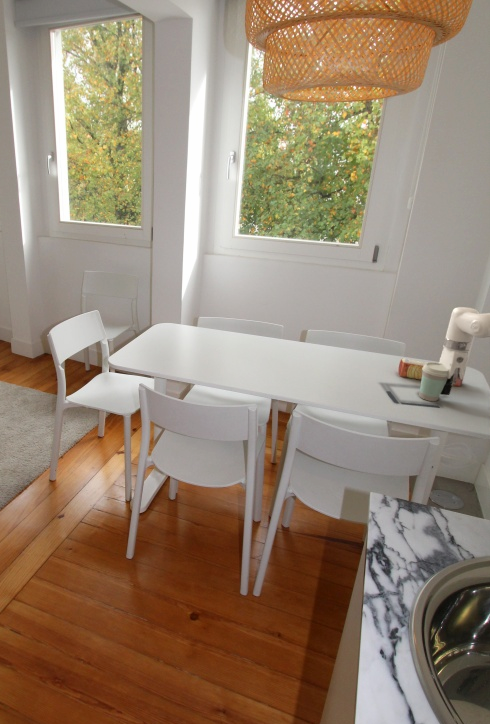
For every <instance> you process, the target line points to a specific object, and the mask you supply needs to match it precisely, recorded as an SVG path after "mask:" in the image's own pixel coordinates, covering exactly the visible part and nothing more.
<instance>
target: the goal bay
mask: <svg viewBox="0 0 490 724" xmlns="http://www.w3.org/2000/svg"><path fill="white" fill-rule="evenodd" d="M386 394H387V395H388V397H389V398H390V399H391V401H392V402H393V403H394V404H401V405H407V406H417V407H427V408H437V409H441V408H440V406H439V405H438V404H437V405H436V404H427V403H425V404H424V403H413V402H400V403H399V401H398V399H396V397H395V396H394V394H393V393H392V391H391V390H390V391H388V390H387V391H386Z"/></svg>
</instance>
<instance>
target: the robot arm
mask: <svg viewBox="0 0 490 724" xmlns="http://www.w3.org/2000/svg"><path fill="white" fill-rule="evenodd" d="M451 311H452V312H451V314H450V319H449V322H448V326H447V329H446V334H445V336H444V337H445V338H444V342H443V345H442V347H443V348H442V351H441V355H440V358H439V361H438V363H441V364H442V366H443V367H444V368H445V369H447V370H448V377H447V378H448V379H447V381H446V383H445V385H444V387H443V390H442V392H441V394H440V396H441V395H443V396H450V394H451V390H452V387H453V384H456V383H457V378H459V379H460V380H462V379H463V380H464V378H465V374H466V370H467V366H468V359H469V351H470V348H471V345H472V342H473V339H474V338H478V339H485V338H490V312H485V313H480V312H479V310H477V309H475V308H473V307H466V306H458V307H454V309H452V310H451Z"/></svg>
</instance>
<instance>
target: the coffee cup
mask: <svg viewBox="0 0 490 724" xmlns="http://www.w3.org/2000/svg"><path fill="white" fill-rule="evenodd" d="M422 370H423V373H422V380H420V385H419V393H418V397H420V398H421V399H423V400H425V401H429V402H437V401H438V400H439V398H440V396H441V392H442V390H443V387H444V385H445V383H446V381H447V379H448V378H447V377H448V370H447V369H445V368H444V367H443V366H442V364H441V363H439V362H435V361H429V362H426V364H425V365H424V366H423V368H422Z"/></svg>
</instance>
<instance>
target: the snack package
mask: <svg viewBox="0 0 490 724" xmlns="http://www.w3.org/2000/svg"><path fill="white" fill-rule="evenodd" d="M426 363H427V362H425V361H419V360H414V359H409V358H404V357H403V358H401V359H400V361H399V364H398V376H399V377H402V378H407V379H408V378H409V379H413V380H420V381H421V380H422V373H423V370H422V368H423V366H424V365H425V364H426ZM463 382H464V378H463V379H462V380H460V379H459V378H457V383H456V384H453V385H452V387H461V386H462V384H463Z"/></svg>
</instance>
